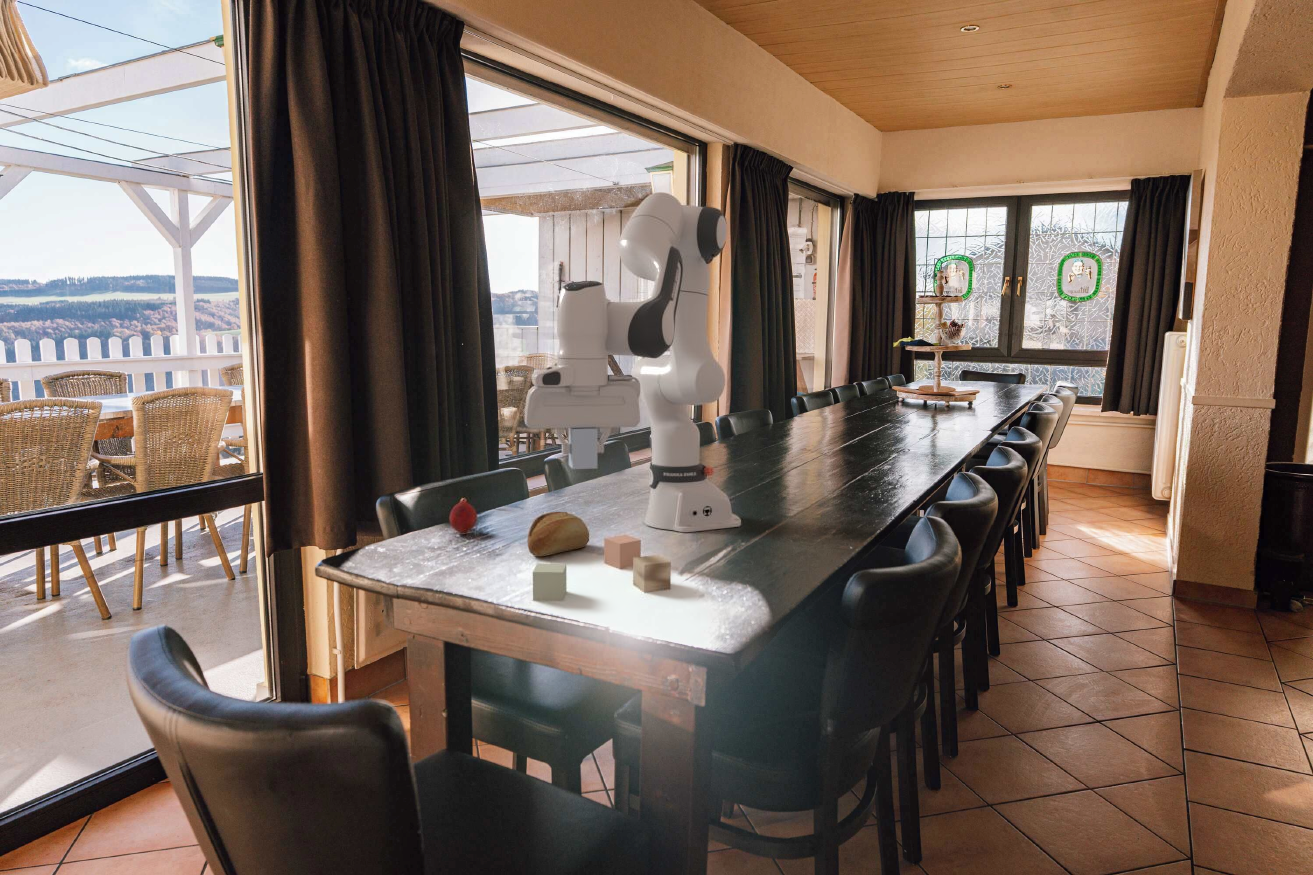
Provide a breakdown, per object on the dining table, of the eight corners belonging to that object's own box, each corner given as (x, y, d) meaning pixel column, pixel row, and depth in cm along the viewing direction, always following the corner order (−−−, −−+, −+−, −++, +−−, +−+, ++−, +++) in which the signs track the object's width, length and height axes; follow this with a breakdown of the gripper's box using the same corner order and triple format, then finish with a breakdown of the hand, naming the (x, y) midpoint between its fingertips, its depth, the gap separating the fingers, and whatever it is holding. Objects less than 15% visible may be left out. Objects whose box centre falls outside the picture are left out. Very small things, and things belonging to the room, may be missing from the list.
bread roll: (513, 555, 165) (513, 516, 164) (565, 540, 177) (565, 504, 176) (548, 564, 159) (548, 523, 158) (599, 548, 171) (599, 510, 170)
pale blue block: (592, 464, 150) (593, 425, 149) (597, 468, 145) (597, 428, 144) (568, 465, 148) (568, 426, 148) (572, 469, 144) (572, 429, 143)
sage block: (566, 591, 143) (566, 563, 142) (563, 601, 138) (562, 572, 137) (537, 591, 143) (537, 563, 142) (533, 601, 138) (532, 571, 137)
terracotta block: (624, 559, 163) (625, 534, 162) (640, 565, 159) (640, 539, 159) (604, 563, 160) (604, 538, 159) (619, 569, 156) (619, 543, 155)
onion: (470, 538, 178) (469, 501, 177) (445, 536, 179) (444, 500, 178) (481, 531, 183) (480, 496, 182) (457, 530, 184) (456, 495, 183)
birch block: (658, 581, 149) (658, 554, 148) (670, 589, 144) (670, 561, 144) (633, 584, 147) (633, 557, 146) (644, 593, 142) (644, 565, 142)
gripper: (636, 373, 150) (635, 448, 152) (522, 374, 145) (523, 452, 147) (644, 375, 144) (644, 454, 146) (526, 376, 139) (527, 457, 141)
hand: (582, 453), depth 147 cm, fingers closed on pale blue block, 4 cm apart
